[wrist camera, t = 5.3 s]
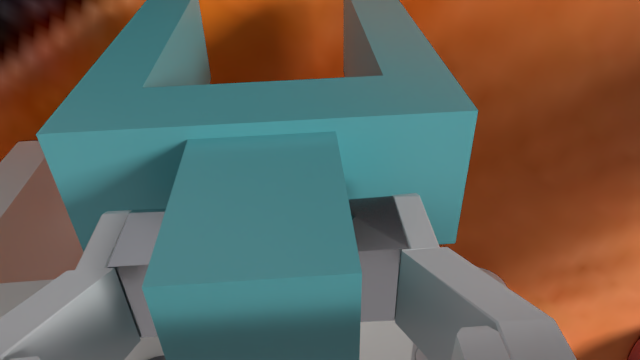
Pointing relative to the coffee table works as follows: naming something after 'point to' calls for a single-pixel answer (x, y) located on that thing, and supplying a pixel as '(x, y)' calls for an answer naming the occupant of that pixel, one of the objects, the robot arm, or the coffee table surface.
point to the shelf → (65, 251)
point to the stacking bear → (635, 352)
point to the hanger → (259, 175)
